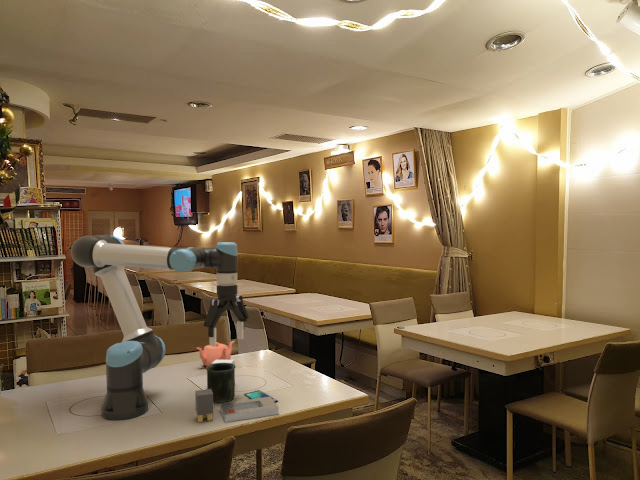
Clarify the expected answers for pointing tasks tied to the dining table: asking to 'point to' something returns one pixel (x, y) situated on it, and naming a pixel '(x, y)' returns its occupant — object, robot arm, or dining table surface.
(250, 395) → the smartphone
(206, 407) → the plug
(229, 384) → the mug
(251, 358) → the dining table surface
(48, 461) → the dining table surface
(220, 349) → the teapot
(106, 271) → the robot arm
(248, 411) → the socket
